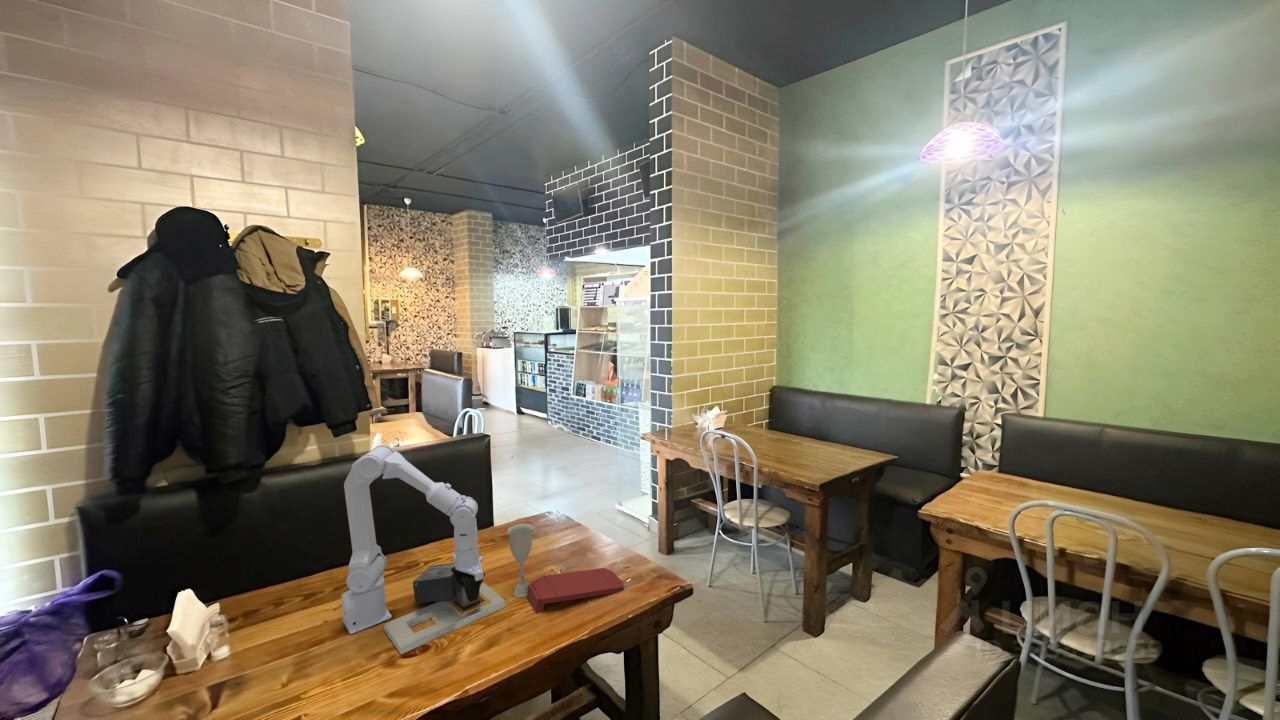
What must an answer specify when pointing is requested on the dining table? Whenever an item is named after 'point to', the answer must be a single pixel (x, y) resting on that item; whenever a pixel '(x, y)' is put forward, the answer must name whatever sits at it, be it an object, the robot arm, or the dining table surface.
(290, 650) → the dining table surface
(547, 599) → the carton
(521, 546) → the chalice
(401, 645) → the rail plate
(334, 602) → the dining table surface
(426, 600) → the small box
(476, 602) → the post
